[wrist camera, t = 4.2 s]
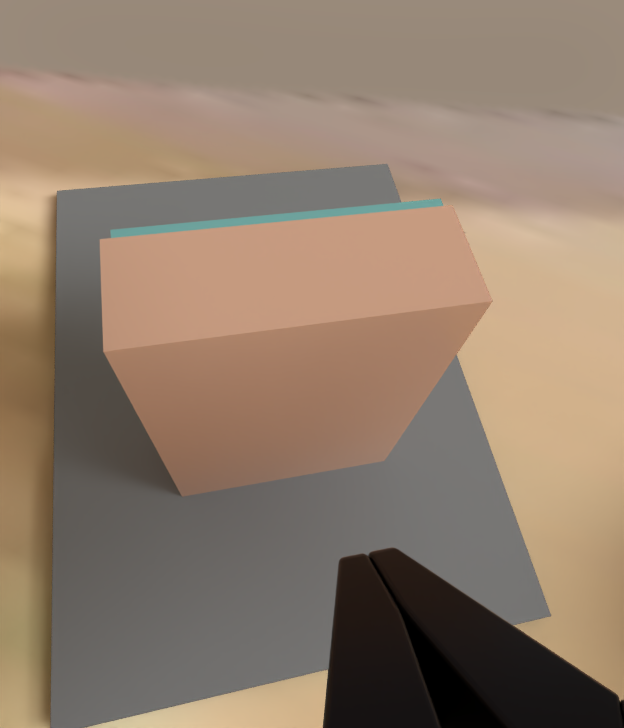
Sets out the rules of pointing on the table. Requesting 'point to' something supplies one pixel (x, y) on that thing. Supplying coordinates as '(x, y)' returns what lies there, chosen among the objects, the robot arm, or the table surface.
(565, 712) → the robot arm
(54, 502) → the mat
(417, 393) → the salmon rectangular block
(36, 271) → the table surface
